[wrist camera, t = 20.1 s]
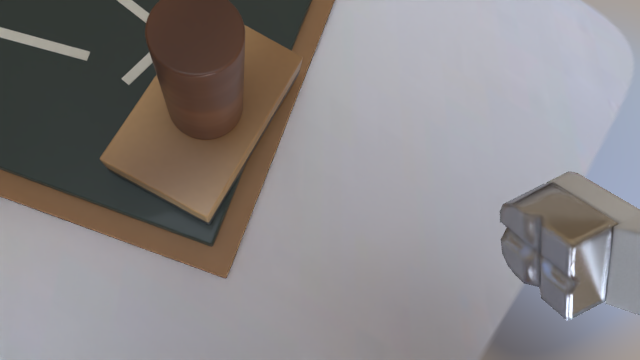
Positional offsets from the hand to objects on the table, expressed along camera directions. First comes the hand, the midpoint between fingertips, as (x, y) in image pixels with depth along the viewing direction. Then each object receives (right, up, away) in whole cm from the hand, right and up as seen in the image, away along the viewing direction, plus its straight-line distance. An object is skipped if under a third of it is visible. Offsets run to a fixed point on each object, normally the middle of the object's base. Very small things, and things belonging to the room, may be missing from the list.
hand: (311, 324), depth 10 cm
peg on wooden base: (-5, +5, +15) cm, 17 cm away
